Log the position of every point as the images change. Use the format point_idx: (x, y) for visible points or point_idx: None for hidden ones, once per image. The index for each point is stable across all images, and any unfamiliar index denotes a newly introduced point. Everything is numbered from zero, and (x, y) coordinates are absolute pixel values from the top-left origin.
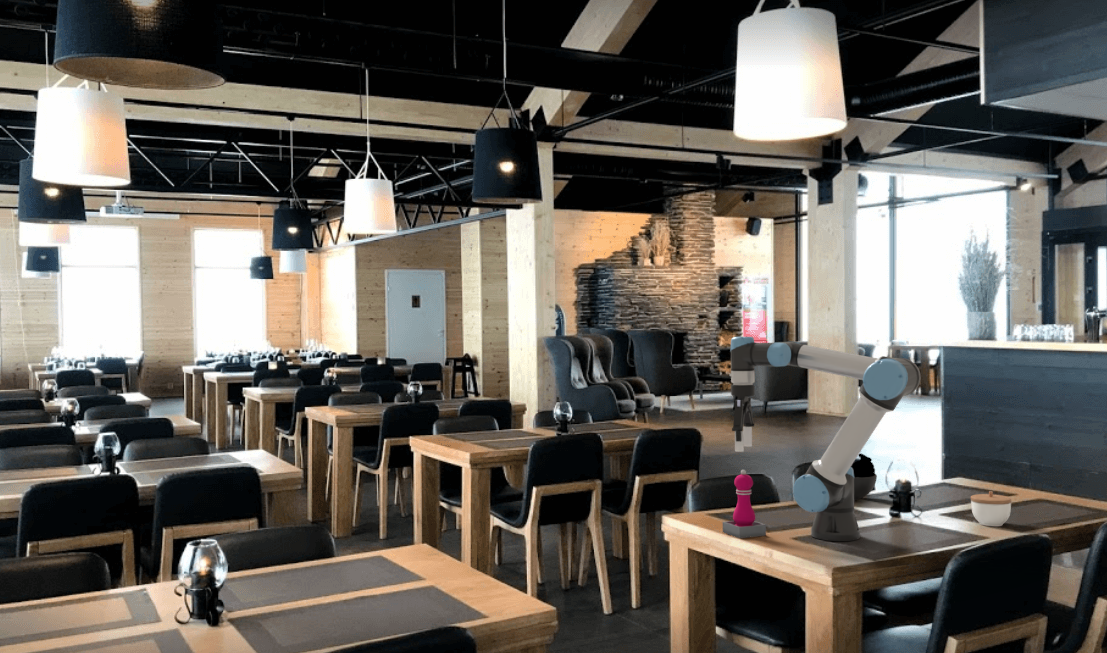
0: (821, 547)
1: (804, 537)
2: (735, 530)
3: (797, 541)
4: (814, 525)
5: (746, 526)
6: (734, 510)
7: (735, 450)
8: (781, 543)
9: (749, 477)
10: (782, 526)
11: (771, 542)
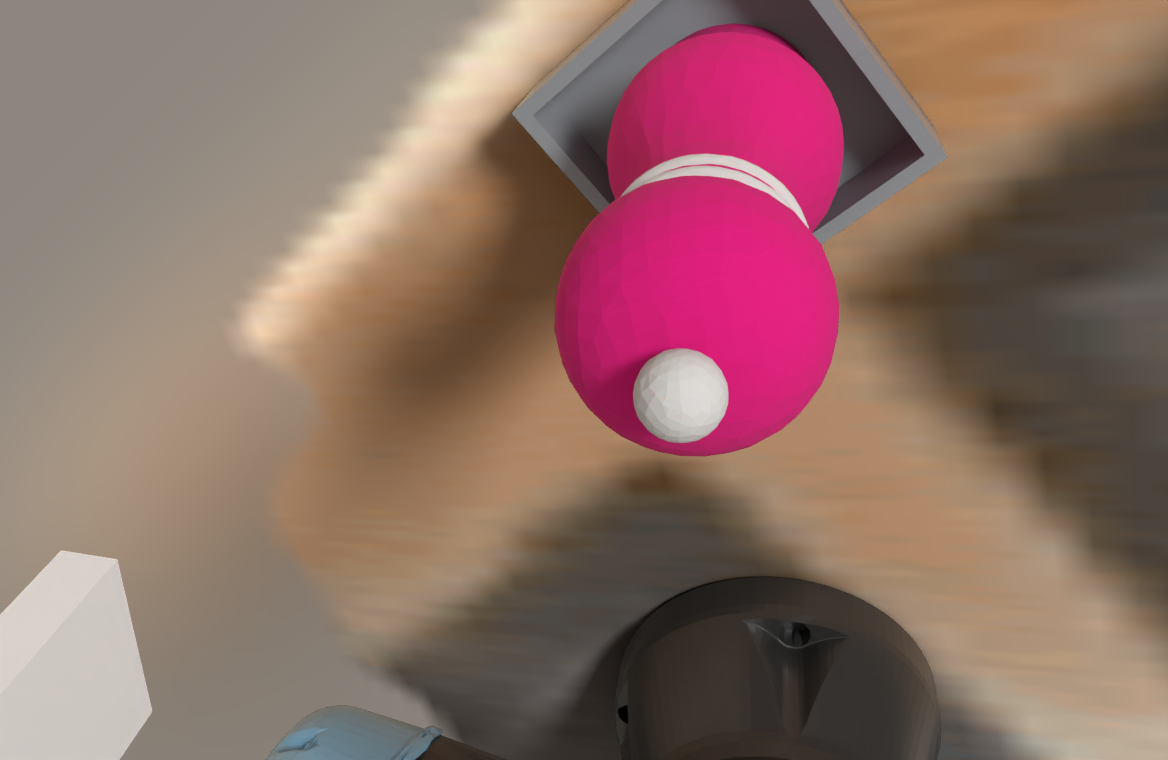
0: (435, 606)
1: (703, 534)
2: (571, 57)
3: (560, 491)
4: (710, 649)
5: (572, 173)
6: (705, 72)
7: (48, 579)
8: (462, 398)
9: (638, 440)
10: (1116, 398)
11: (470, 335)
